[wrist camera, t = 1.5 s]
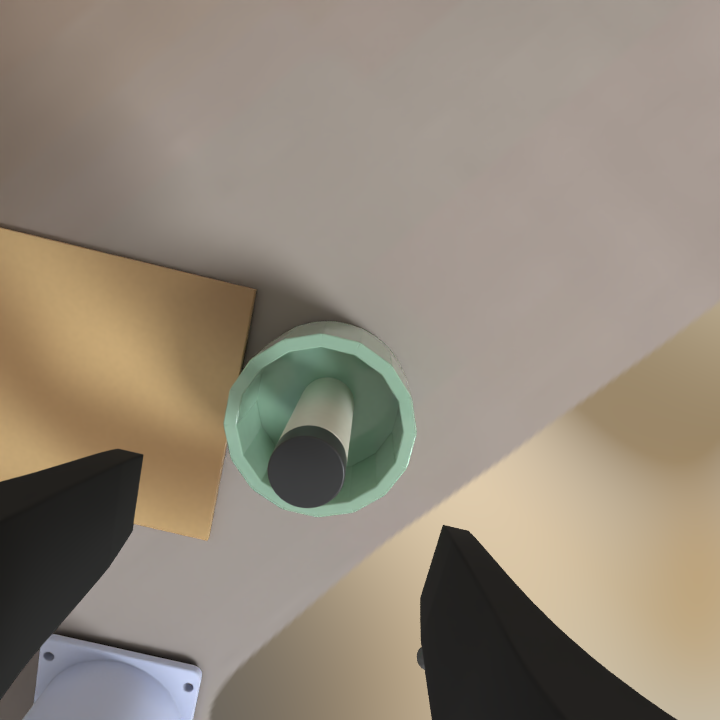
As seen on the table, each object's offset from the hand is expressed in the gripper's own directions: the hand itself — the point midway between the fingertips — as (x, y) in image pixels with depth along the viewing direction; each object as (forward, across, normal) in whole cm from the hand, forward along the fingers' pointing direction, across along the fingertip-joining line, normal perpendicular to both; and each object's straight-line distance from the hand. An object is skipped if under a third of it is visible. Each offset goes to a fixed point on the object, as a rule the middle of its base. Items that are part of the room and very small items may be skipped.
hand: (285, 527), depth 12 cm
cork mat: (+10, +14, +2) cm, 18 cm away
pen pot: (+10, 0, 0) cm, 11 cm away
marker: (+10, 0, 0) cm, 10 cm away
